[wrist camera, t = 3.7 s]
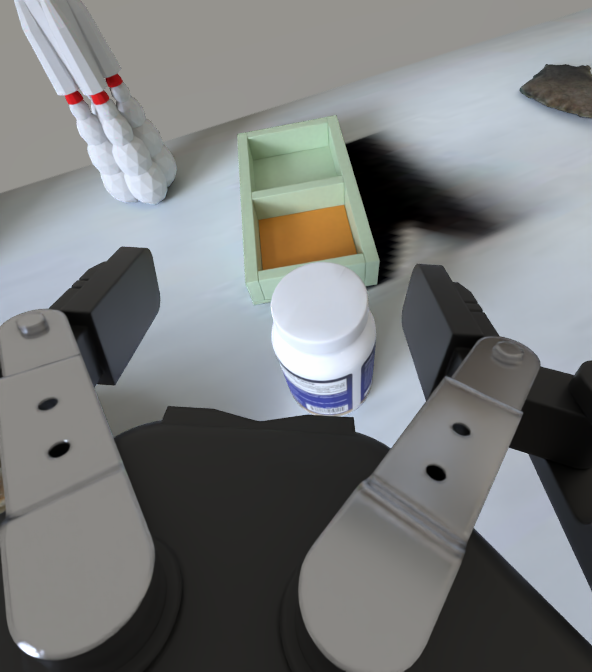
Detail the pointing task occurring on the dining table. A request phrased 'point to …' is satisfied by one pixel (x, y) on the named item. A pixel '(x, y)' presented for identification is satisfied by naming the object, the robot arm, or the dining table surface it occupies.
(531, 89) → the arrowhead
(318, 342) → the pill bottle
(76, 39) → the rocket model
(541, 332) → the dining table surface
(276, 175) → the holder
